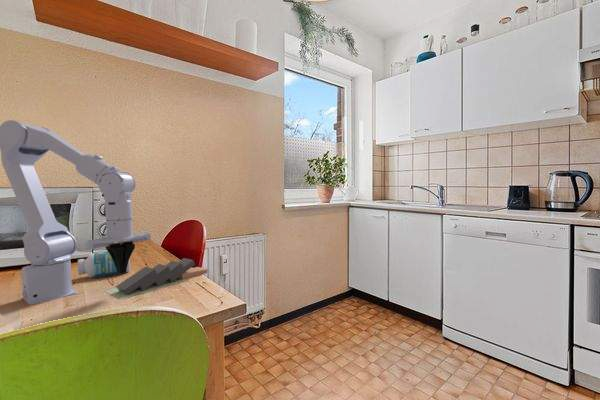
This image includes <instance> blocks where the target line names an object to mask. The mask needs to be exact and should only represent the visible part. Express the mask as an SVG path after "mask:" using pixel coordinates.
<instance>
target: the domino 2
mask: <svg viewBox="0 0 600 400" xmlns="http://www.w3.org/2000/svg"><path fill="white" fill-rule="evenodd" d="M165 265H166V264H161V263H158V264H156V265H155V266H154V267H151V268H152V269H155V271H156V273H157V275H155V276H154V277H152V278H151V279H149V280H148V281H147V282H145V283H144V284H142V285H141V286H140V287H138V288H137V289H139V290H142V291H143V290H145V289H146V288H148V287H149V286H150V285H152V284H153V283H155V282H156V281H157V280H159V279H160V278H161V277H163V276H164V275H166V274H167V273H168V272H170V269H169V267H168V266H165Z"/></svg>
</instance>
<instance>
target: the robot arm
mask: <svg viewBox="0 0 600 400" xmlns="http://www.w3.org/2000/svg"><path fill="white" fill-rule="evenodd" d="M49 152H52V153H54V154H56V155H57V156H59V157H60V158H63V159H65V160H66V161H67V162H70V163H71V164H74V165H75V170H76V172H77V173H78V174H79V175H82V176H83V177H85V178H86V179H88V181H89V180H90V181H91V182H92V183H94V184H96V185H97V186H98V188H99V191H101V193H102V194H103V200H104V203H105V205H104V207H105V209H104V210H105V227H106V228H105V229H106V230H105V231H106V232H105V233H106V237H102V238H94V239H89V240H85V241H84V242H85V244H84V245H85V250H94V249H98V248H99V249H100V248H105V250H106V252H109V254H110V255H111V257H112V259H113V261H114V264H115V266H116V270H117V273H120V274H126V270H127V265H128V262H129V260H131V259H130V258H131V256H132V254H133V252H134V250H135V248H136V244H135V243H138V242H139V243H140V242H149V241H152V239H151V237H152V236H151V233H149V232H141V233H134V232H133V231H134V229H133V205H132V204H133V203H132V202H133V201H132V200H133V199H132V193H133V191H134V190H135V188H136V180H135V178H134V177H133V175H132V174H130V172H125V171H121V172H120V171H119V167H117V166H114V165H111V164H109V163H108V162H106V161H104V160H103V159H104V157H103V156H101V155H100V154H94V153H88V154H85V153H84V152H82V151H81V150H79V148H76V147H75V146H73V145H72V144H71V143H69V142H68V141H67V140H65V139H64V138H62V137H61V136H60V135H59V134H58V133H57V132H54V131H52V130H50V129H49V128H47V127H41V126H36V125H31V124H27V123H23V122H19V121H17V120H12V119H11V120H10V119H9V120H5V121H3V122H2V123H1V124H0V159H1V160H0V161H1V164H2V167H3V169H4V171H5V175H6V176H7V179H8V181H9V183H10V186H11V189H12V191H13V194H14V196H15V199H16V200H17V203H18V204H19V208H20V210H21V212H22V215H23V217H24V220H25V223H26V224H27V226H28V230H27V232H26V233H24V235H23V236H22V237H21V240H22V242H23V246H24V247H23V254H24V257H25V258H26V260H27V261H28V262H29V263H31V264H30V265H26V266H23V267H22V268H21V288H22V300H24V302H26V303H27V304H28V305H29V306H33V305H36V304H41V303H44V302H49V301H53V300H57V299H60V298H61V299H62V298H66V297H69V296H72V295H77V294H78V293H79V292H78V291H77V290H75V289H73V283H72V268H71V267H72V266H71V259H73V254H74V253H75V252H76V250H77V249H78V242H77V240H76V238H75V236H74V235H72V234H71V233H70V231H69V229H68V227H67V226H65V225H64V224H62V223H60V222H58V221H57V219H56V217H55V213H54V212H53V210H52V206H51V205H50V202H49V200H48V197H47V196H46V193H45V191H44V187H43V185H42V183H41V181H40V178H39V175H38V173H37V171H36V169H35V167H34V165H35V163H36V162H38V161H39V160H41V158H43V157H44V156H45V155H46V154H47V153H49ZM120 274H119V275H120Z"/></svg>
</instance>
